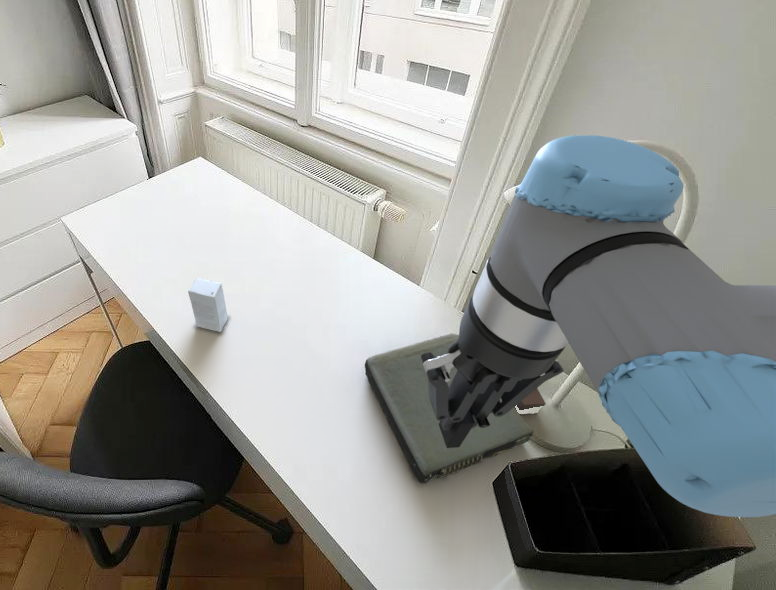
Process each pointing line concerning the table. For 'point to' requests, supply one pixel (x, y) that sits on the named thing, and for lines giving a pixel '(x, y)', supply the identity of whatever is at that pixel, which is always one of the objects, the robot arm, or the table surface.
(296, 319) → the table surface
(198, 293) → the cosmetic box
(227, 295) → the table surface
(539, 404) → the brown and white block
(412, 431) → the network switch
